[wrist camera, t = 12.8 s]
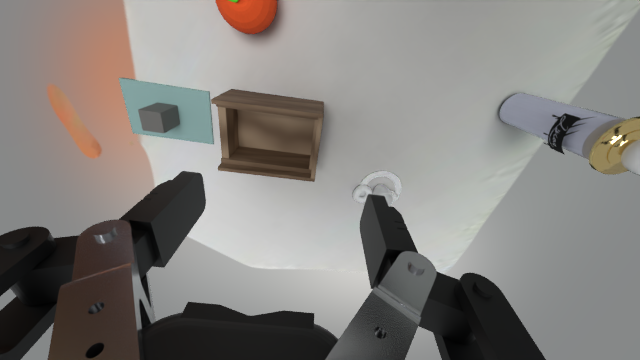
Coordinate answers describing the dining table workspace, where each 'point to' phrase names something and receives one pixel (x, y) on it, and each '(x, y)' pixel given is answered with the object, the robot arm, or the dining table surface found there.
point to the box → (269, 134)
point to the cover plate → (175, 96)
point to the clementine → (248, 14)
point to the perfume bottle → (578, 131)
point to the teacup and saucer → (378, 188)
